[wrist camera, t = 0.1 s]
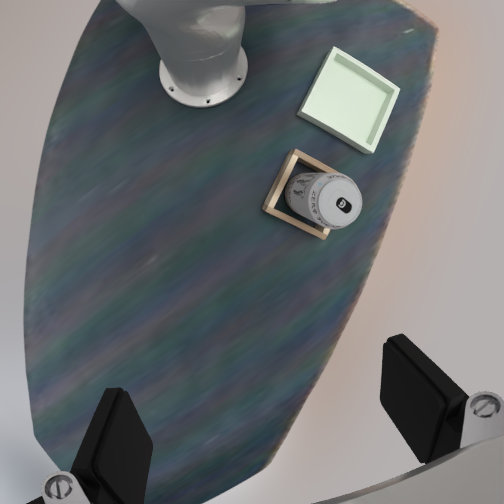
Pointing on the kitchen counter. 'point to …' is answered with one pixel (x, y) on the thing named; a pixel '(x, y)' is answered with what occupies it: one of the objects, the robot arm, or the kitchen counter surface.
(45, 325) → the kitchen counter surface
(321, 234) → the wooden square frame
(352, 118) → the tray
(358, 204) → the energy drink can
